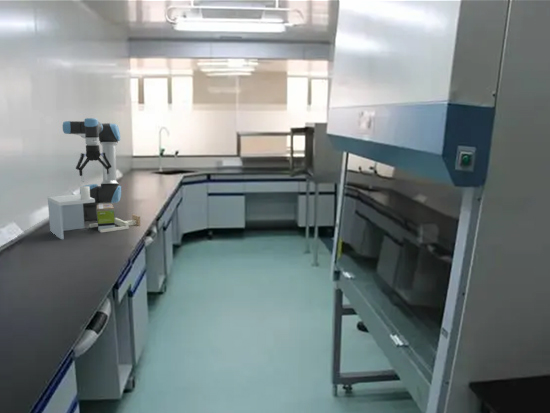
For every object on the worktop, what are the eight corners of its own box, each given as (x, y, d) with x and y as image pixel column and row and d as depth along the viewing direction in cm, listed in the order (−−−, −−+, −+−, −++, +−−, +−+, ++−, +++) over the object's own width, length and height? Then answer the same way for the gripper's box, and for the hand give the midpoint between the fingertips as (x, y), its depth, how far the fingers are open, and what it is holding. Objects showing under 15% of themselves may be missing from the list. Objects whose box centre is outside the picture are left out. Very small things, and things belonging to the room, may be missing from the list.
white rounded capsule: (79, 198, 298) (78, 186, 297) (88, 197, 301) (87, 185, 300) (82, 199, 294) (81, 187, 293) (91, 198, 297) (90, 186, 296)
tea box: (97, 227, 321) (96, 204, 319) (114, 226, 325) (112, 203, 322) (98, 232, 307) (96, 208, 305) (115, 231, 311) (114, 207, 308)
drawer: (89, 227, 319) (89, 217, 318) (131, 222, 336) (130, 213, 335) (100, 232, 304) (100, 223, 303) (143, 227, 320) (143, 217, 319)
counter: (50, 232, 307) (47, 196, 303) (83, 227, 319) (81, 193, 315) (61, 239, 288) (59, 202, 285) (96, 234, 301) (94, 198, 297)
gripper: (72, 145, 289) (74, 182, 293) (115, 144, 304) (117, 179, 308) (68, 145, 295) (71, 181, 299) (111, 143, 310) (113, 178, 313)
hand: (94, 180), depth 303 cm, fingers open, 13 cm apart
